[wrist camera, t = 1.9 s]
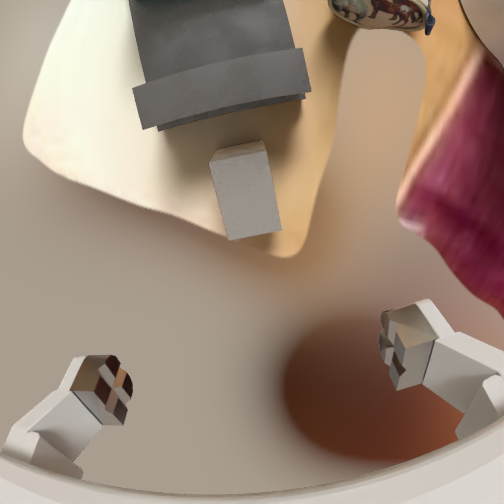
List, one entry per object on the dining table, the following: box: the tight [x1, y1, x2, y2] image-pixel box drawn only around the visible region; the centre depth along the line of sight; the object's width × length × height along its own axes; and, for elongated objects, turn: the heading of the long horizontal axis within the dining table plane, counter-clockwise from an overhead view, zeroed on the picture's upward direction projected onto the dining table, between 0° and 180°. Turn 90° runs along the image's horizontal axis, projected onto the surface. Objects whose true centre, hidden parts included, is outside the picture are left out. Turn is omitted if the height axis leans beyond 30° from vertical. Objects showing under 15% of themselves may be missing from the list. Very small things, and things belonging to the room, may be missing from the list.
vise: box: [129, 0, 311, 132], centre depth 17 cm, size 12×18×7 cm, turn 12°
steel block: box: [209, 140, 282, 241], centre depth 24 cm, size 4×6×6 cm, turn 12°
